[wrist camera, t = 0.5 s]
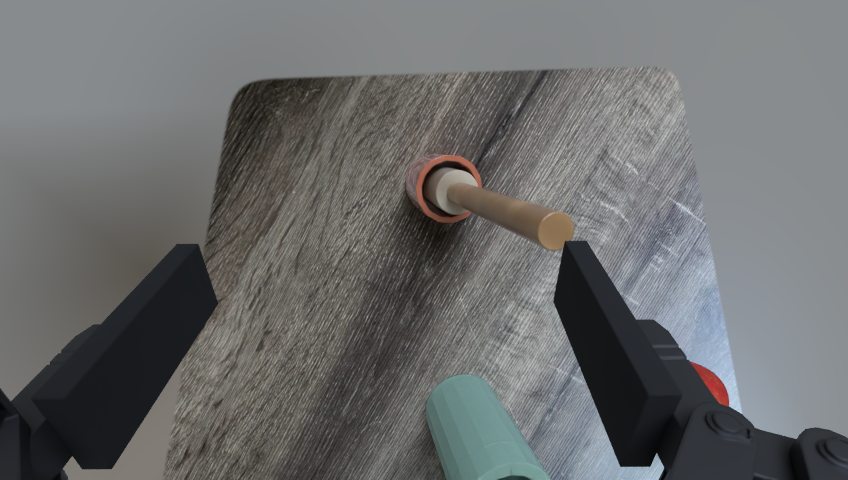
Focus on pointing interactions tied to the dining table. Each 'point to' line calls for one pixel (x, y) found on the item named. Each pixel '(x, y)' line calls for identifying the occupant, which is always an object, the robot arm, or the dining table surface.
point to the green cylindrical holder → (478, 434)
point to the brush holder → (417, 178)
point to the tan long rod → (496, 207)
